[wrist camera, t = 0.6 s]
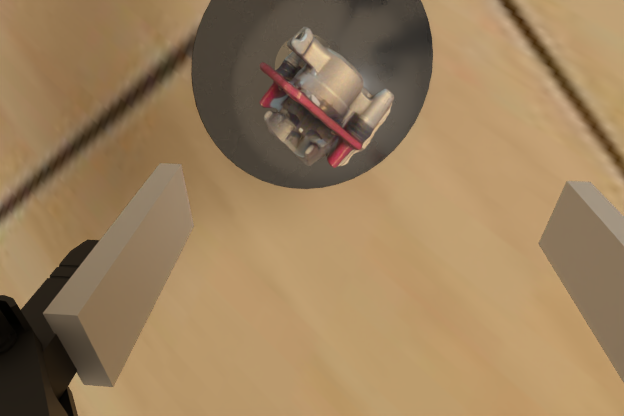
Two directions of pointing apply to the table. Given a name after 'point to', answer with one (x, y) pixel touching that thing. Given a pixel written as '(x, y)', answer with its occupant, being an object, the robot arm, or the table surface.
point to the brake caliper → (321, 103)
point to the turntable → (273, 50)
